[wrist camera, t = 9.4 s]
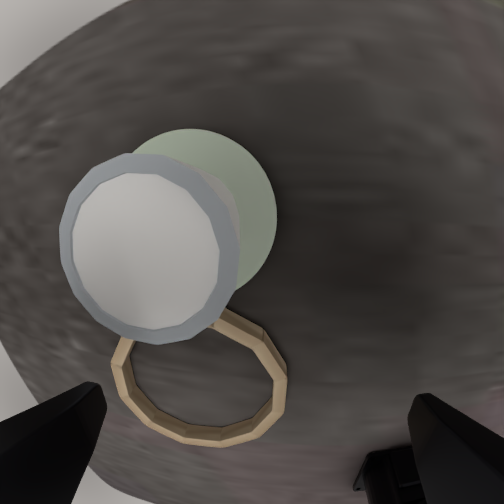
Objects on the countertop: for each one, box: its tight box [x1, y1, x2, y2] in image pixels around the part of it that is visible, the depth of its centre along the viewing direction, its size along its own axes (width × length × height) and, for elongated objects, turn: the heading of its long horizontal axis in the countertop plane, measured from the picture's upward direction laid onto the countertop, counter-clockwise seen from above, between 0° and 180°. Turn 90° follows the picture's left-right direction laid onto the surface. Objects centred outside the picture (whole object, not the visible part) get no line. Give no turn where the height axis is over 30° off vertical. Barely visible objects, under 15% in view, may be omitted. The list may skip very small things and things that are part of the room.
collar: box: [111, 308, 287, 448], centre depth 20 cm, size 12×12×2 cm
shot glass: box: [59, 153, 240, 345], centre depth 13 cm, size 7×7×7 cm
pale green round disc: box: [132, 129, 277, 290], centre depth 17 cm, size 10×10×1 cm
